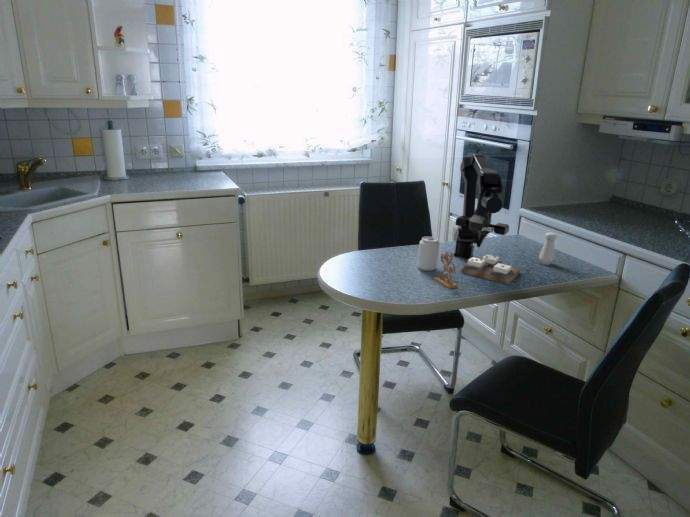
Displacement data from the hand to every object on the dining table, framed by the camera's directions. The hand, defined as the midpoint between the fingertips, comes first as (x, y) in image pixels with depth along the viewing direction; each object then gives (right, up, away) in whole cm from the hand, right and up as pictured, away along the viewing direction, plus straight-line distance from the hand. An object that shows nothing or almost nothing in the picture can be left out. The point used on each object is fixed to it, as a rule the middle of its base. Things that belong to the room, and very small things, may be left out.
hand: (478, 246), depth 192 cm
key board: (+5, -10, +4) cm, 12 cm away
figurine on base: (-14, -14, -10) cm, 22 cm away
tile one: (+8, -9, -3) cm, 12 cm away
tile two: (+6, -5, +7) cm, 11 cm away
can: (-19, -8, +4) cm, 21 cm away
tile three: (0, -7, +2) cm, 7 cm away
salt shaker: (+32, -7, +18) cm, 38 cm away
